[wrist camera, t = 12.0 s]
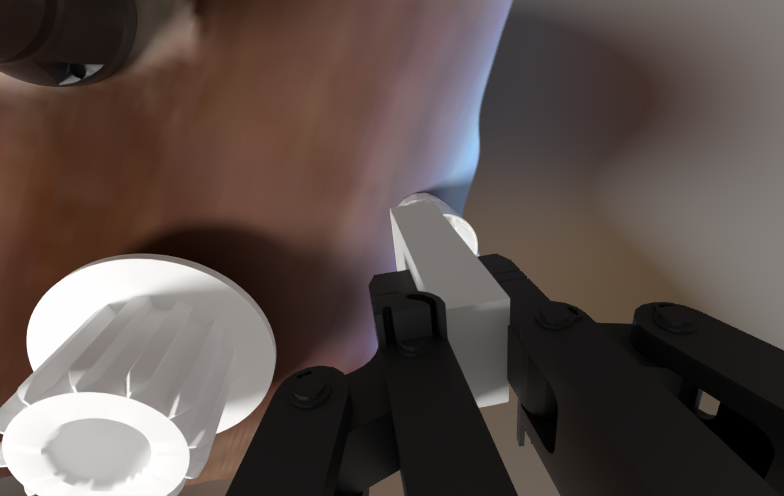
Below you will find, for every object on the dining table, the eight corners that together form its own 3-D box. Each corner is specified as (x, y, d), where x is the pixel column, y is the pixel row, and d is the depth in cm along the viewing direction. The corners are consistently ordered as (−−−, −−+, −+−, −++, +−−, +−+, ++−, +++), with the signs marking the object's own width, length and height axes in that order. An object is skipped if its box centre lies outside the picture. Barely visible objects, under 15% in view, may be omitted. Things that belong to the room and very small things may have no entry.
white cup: (415, 174, 46) (435, 198, 37) (463, 210, 49) (493, 241, 40) (375, 226, 48) (385, 261, 39) (424, 258, 51) (444, 298, 42)
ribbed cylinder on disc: (99, 408, 53) (-12, 567, 36) (36, 237, 43) (-158, 343, 26) (288, 393, 57) (270, 531, 39) (271, 230, 47) (237, 320, 29)
